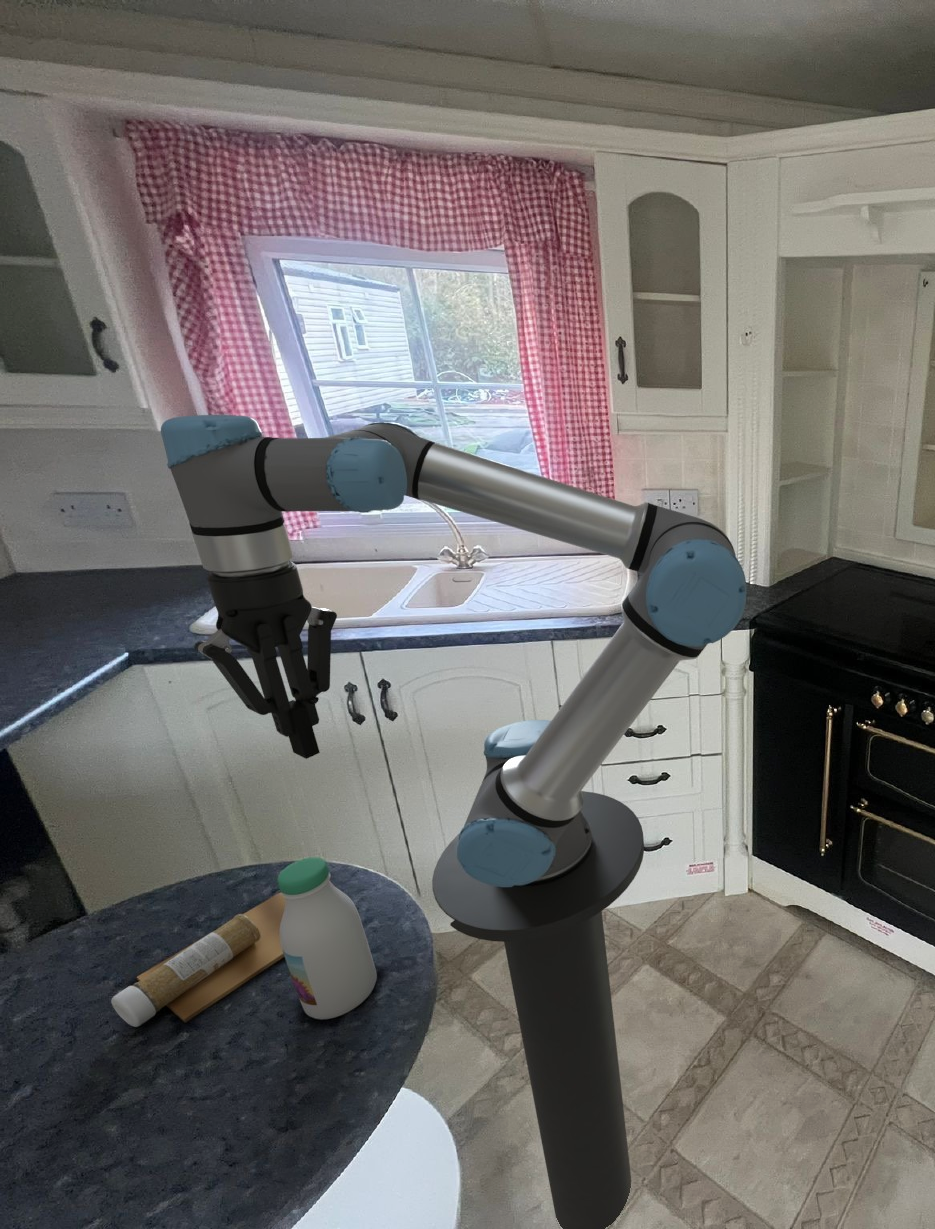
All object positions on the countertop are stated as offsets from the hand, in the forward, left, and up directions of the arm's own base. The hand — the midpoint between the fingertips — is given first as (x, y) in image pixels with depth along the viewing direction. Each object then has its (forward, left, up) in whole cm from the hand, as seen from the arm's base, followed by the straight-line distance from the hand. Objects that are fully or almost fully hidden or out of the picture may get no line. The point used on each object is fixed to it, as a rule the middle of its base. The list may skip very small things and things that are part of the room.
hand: (306, 752), depth 79 cm
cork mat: (+9, -12, -30) cm, 34 cm away
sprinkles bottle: (+7, -12, -27) cm, 31 cm away
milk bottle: (+6, +6, -31) cm, 32 cm away
